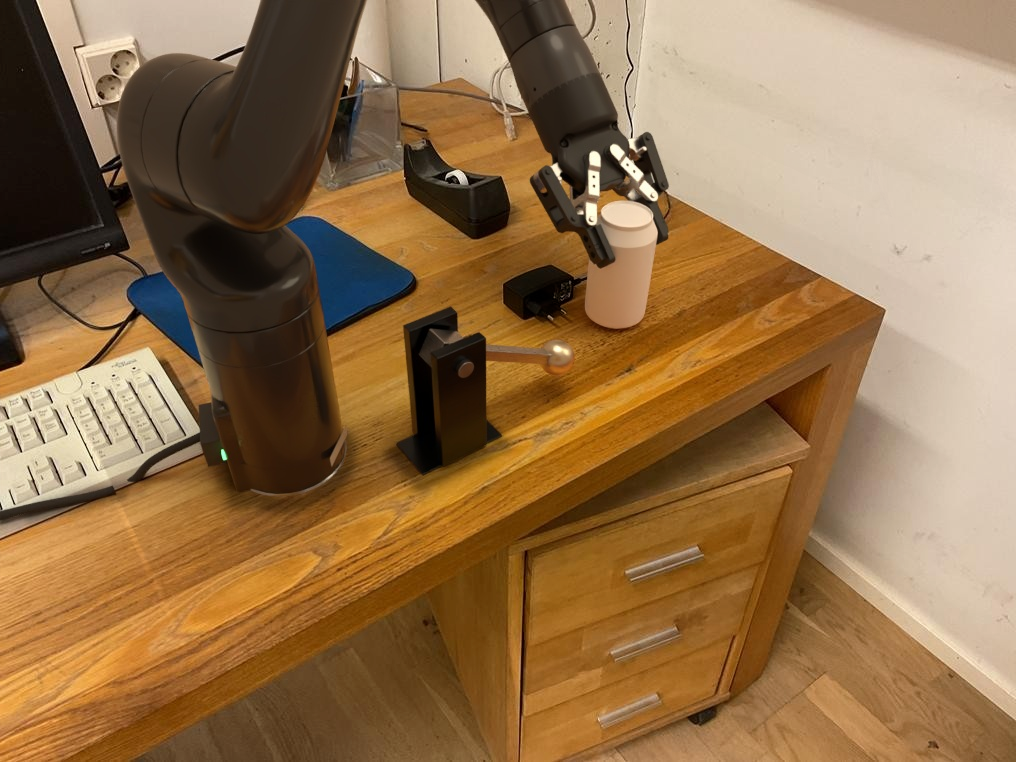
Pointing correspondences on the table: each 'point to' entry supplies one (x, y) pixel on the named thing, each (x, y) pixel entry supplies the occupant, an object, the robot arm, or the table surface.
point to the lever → (508, 352)
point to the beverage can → (622, 266)
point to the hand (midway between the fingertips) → (634, 253)
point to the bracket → (445, 395)
